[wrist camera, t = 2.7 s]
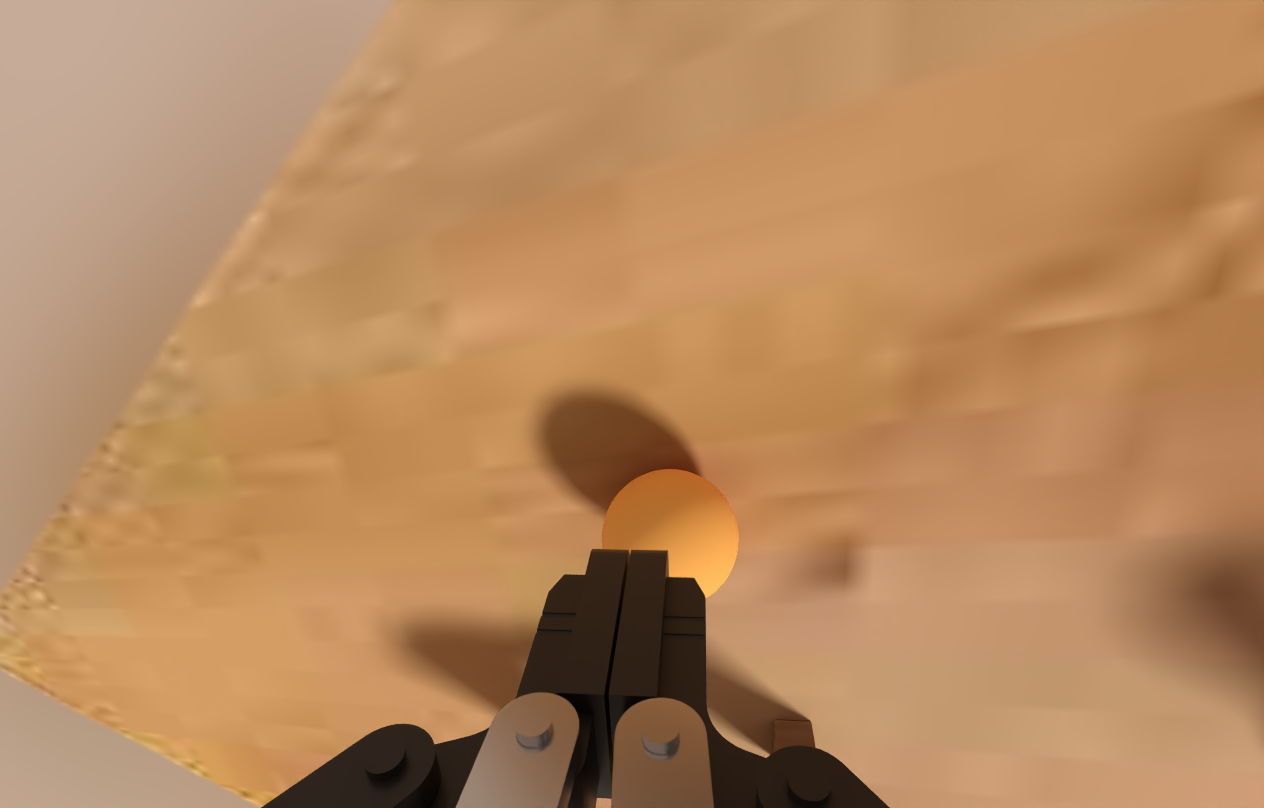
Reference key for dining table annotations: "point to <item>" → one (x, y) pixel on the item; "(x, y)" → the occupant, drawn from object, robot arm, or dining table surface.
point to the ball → (676, 525)
